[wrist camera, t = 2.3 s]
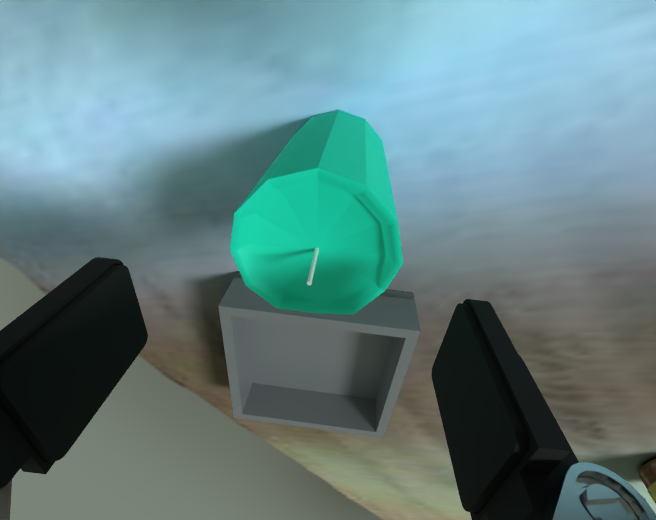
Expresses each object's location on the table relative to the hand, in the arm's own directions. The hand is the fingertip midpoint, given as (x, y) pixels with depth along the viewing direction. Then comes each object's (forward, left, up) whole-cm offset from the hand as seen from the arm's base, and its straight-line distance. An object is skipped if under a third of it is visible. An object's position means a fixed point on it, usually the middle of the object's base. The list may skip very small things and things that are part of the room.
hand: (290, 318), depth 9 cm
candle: (-1, 0, -13) cm, 13 cm away
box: (+15, 0, -13) cm, 20 cm away
